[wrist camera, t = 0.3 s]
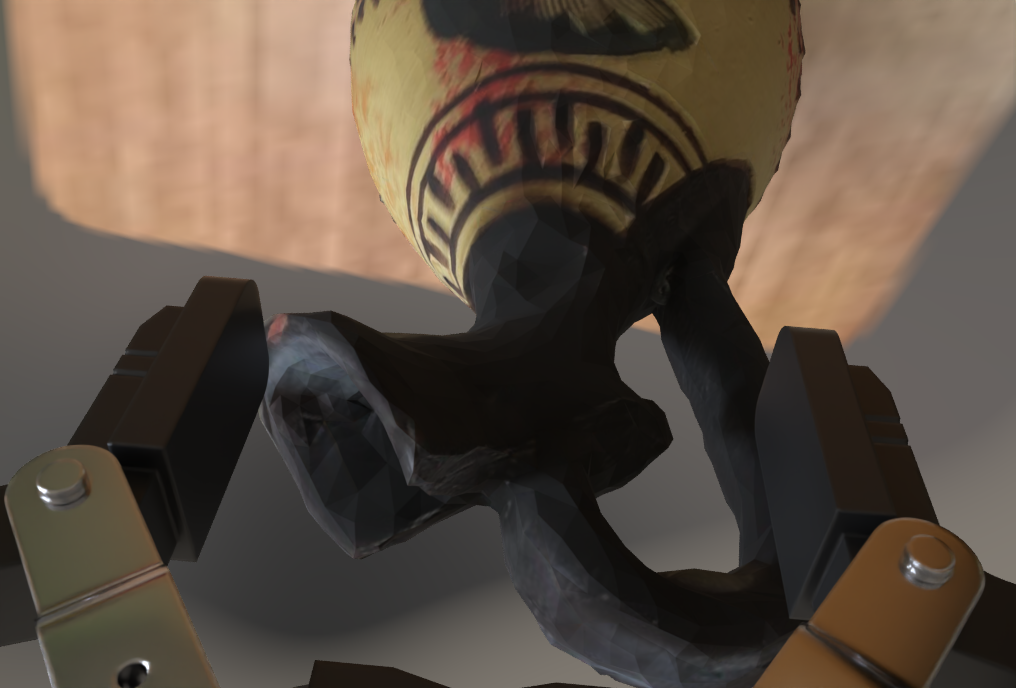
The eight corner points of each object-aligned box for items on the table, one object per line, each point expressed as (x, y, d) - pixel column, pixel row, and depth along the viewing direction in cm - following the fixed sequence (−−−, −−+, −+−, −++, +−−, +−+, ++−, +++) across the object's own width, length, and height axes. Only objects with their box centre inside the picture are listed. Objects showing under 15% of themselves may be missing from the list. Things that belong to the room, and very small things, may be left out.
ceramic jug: (354, 87, 41) (52, 708, 18) (457, -301, 32) (98, -25, 9) (690, 210, 44) (796, 883, 21) (878, -112, 35) (1449, 474, 12)
